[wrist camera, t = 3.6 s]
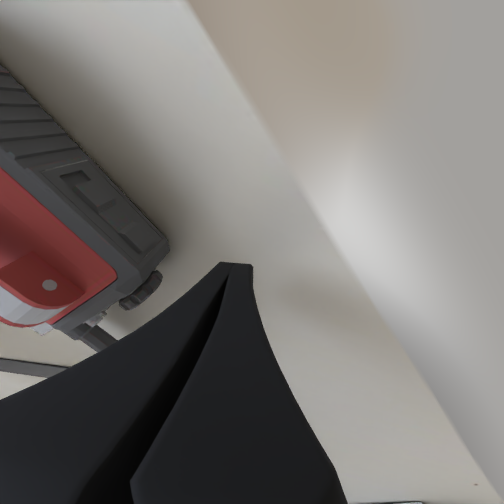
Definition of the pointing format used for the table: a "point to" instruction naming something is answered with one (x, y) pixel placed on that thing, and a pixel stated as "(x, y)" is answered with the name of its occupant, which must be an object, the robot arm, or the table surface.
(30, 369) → the tape marks
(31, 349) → the table surface
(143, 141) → the table surface
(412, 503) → the skincare box
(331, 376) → the table surface
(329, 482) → the robot arm
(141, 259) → the walkie-talkie
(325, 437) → the table surface
